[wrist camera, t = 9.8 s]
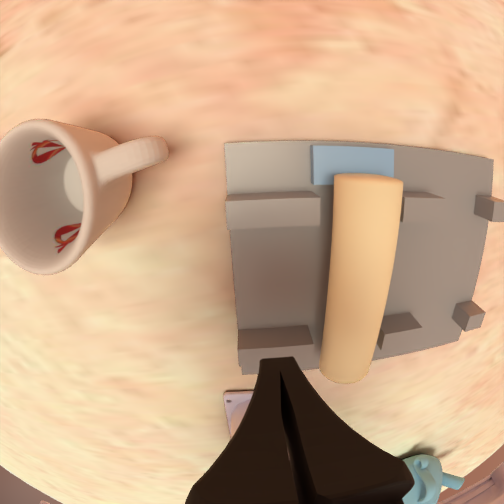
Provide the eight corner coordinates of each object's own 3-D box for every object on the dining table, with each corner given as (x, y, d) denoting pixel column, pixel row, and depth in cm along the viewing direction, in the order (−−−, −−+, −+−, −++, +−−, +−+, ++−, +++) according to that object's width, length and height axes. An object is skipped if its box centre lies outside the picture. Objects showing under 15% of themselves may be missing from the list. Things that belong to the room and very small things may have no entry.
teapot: (372, 454, 32) (395, 522, 20) (470, 420, 32) (500, 470, 21) (343, 498, 39) (354, 548, 27) (428, 473, 39) (445, 515, 28)
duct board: (453, 335, 24) (469, 353, 21) (242, 367, 24) (242, 395, 21) (486, 158, 18) (512, 163, 15) (225, 143, 18) (221, 142, 15)
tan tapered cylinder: (362, 346, 22) (374, 380, 19) (316, 349, 23) (322, 386, 19) (387, 174, 17) (415, 187, 13) (327, 172, 17) (344, 184, 13)
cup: (169, 91, 16) (123, 60, 9) (199, 203, 19) (173, 241, 12) (44, 149, 17) (-29, 160, 10) (73, 243, 20) (12, 289, 12)
